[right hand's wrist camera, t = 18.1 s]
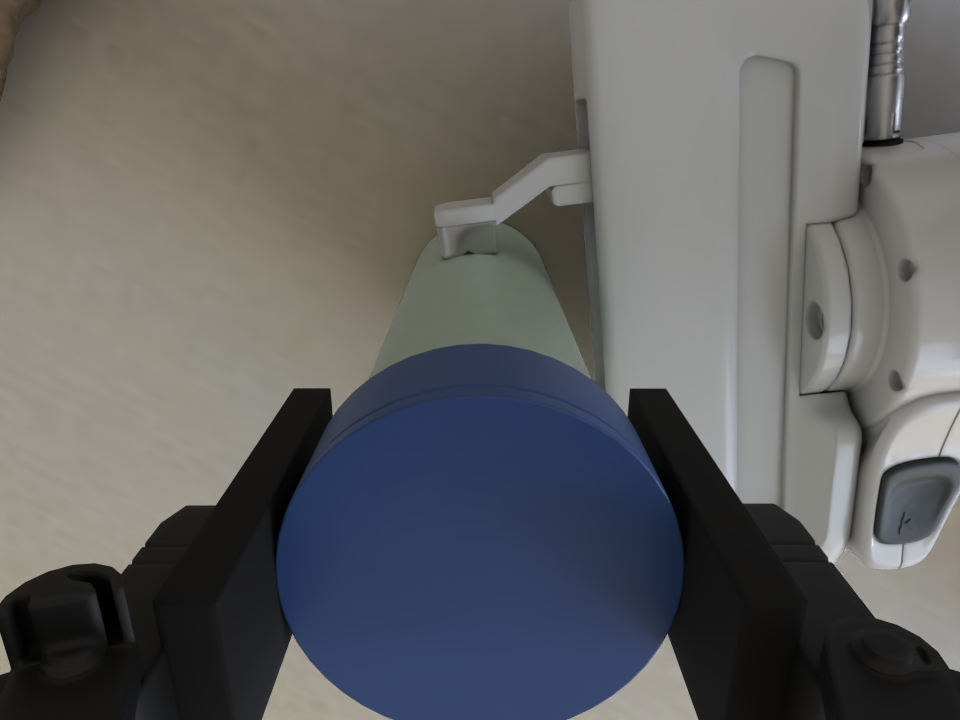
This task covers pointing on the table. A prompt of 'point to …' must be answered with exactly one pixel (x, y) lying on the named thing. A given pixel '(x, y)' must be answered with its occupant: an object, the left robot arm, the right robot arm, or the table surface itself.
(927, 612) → the table surface
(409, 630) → the lid
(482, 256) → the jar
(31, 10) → the stone
